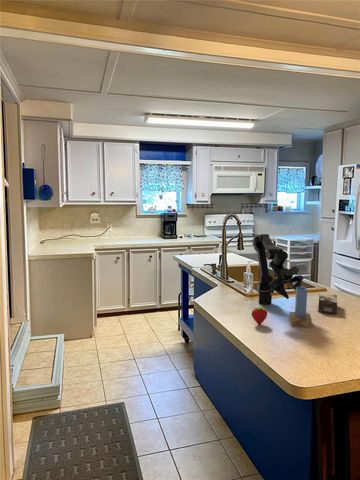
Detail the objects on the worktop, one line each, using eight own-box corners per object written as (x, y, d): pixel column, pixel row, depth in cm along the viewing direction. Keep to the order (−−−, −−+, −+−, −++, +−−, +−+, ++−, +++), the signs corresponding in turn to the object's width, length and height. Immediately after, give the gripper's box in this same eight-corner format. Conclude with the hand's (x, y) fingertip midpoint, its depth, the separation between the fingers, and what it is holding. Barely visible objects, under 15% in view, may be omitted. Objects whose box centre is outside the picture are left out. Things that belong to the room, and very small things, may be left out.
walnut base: (290, 325, 170) (291, 317, 170) (289, 319, 179) (289, 311, 179) (311, 327, 169) (311, 319, 168) (308, 320, 177) (309, 312, 177)
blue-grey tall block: (295, 316, 172) (297, 287, 170) (294, 313, 176) (296, 284, 174) (305, 317, 171) (307, 287, 169) (304, 314, 175) (306, 285, 173)
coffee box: (318, 303, 205) (317, 312, 190) (319, 292, 204) (318, 300, 189) (336, 305, 201) (336, 314, 186) (337, 294, 200) (337, 302, 186)
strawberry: (249, 323, 174) (249, 302, 173) (263, 321, 176) (264, 301, 174) (254, 327, 168) (255, 306, 167) (269, 326, 170) (270, 305, 169)
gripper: (274, 262, 173) (291, 291, 165) (301, 259, 182) (318, 285, 175) (262, 275, 181) (277, 303, 173) (289, 271, 190) (304, 297, 182)
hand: (295, 297), depth 176 cm, fingers open, 9 cm apart
